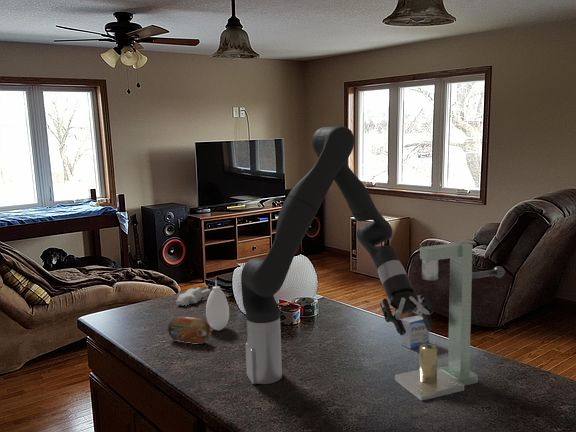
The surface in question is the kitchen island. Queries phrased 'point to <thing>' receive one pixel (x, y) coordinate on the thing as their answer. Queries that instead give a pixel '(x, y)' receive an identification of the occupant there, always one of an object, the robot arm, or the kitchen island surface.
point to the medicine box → (414, 332)
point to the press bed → (450, 320)
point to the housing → (428, 363)
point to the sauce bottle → (217, 309)
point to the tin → (189, 329)
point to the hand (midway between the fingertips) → (417, 331)
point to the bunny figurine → (191, 296)
